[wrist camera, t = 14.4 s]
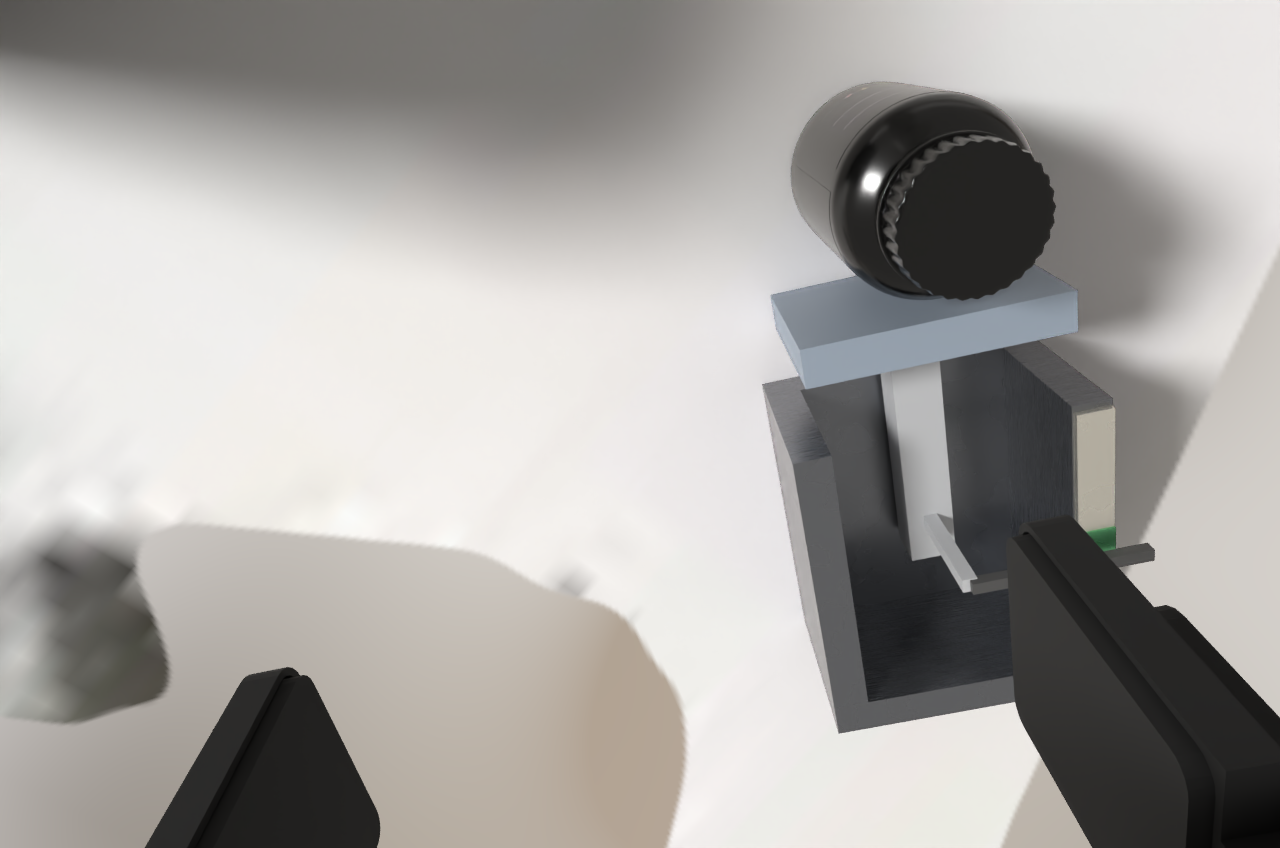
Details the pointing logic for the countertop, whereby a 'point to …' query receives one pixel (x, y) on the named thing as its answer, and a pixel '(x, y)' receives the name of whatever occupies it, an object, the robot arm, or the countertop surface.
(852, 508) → the box
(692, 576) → the countertop surface
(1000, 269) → the supplement bottle
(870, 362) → the gauge plunger
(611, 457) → the countertop surface
